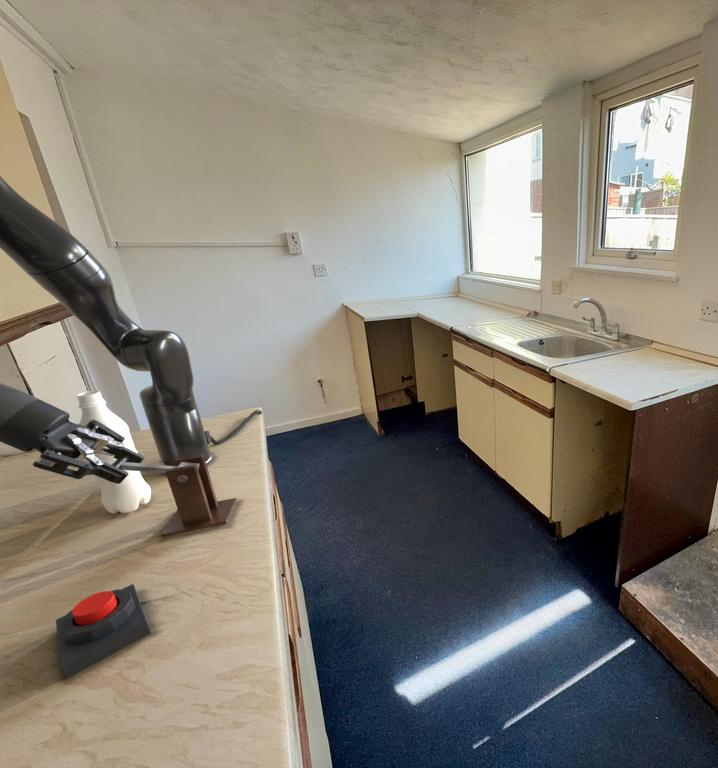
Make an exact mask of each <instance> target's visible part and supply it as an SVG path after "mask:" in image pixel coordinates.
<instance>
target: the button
mask: <svg viewBox="0 0 718 768" xmlns="http://www.w3.org/2000/svg"><path fill="white" fill-rule="evenodd" d="M110 591H111V590H104V591H100V592H96V593H92V595H89V596H87V597H85V598H83V599H82V600H81V601H79V602H78V603H77V604H76V605H75V606H74V607H73V608H72V609H71V610H72V615H73V617H74V619H75V622H76V624H77V625H80V626H85V625H89V624H92V623H95V622H97V621H99V620H101V619H103V618H105V617H106V616H108V615H109V614H110V613H111V612H113V611H114V610H115V609H116V607H117V601H116V598H115V596H114V594H113V593H112V592H110Z"/></svg>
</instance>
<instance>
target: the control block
mask: <svg viewBox="0 0 718 768" xmlns="http://www.w3.org/2000/svg"><path fill="white" fill-rule="evenodd" d="M109 591H110V592H112V593H113V594H114V596H115V598H116V601H117V607H116V609H115V610H114V611H113V612H111V613H110V614H109V615H108V616H106V617H105V618H103V619H101V620H99V621H97V622H95V623H92V624H89V625H85V626H80V625H77V624H76V622H75V619H74V617H73V615H72V610H73V609H71V610H70V611H68V612H67V613H66V614H65V615H62V616H61V617H58V618H56V619H55V626H56V633H57V641H58V643H57V644H58V651H59V659H60V667H61V669H62V671H63V673H64V675H65V676H66V678H67V679H70V678H72V677H73V676H75V675H77V674H79V673H81V672H82V671H84V670H86V669H88V668H90V667H92V666H93V665H95V664H97V663H99V662H101V661H103V660H104V659H106V658H108V657H110V656H112V655H114V654H116V653H118V652H119V651H121V650H123V649H125V648H127V647H128V646H130V645H132V644H134V643H135V642H138V641H139V640H142V639H143V638H145V637H147V636H149V635H150V634H152V631H151V628H150V625H149V622H148V620H147V617H146V613H145V611H144V608H143V605H142V603H141V599H140V598H139V595H138V592H137V589H136V586H135V585H134V583H132V584H129V585H127V586H125V587H123V588H119V589H114V590H109Z"/></svg>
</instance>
